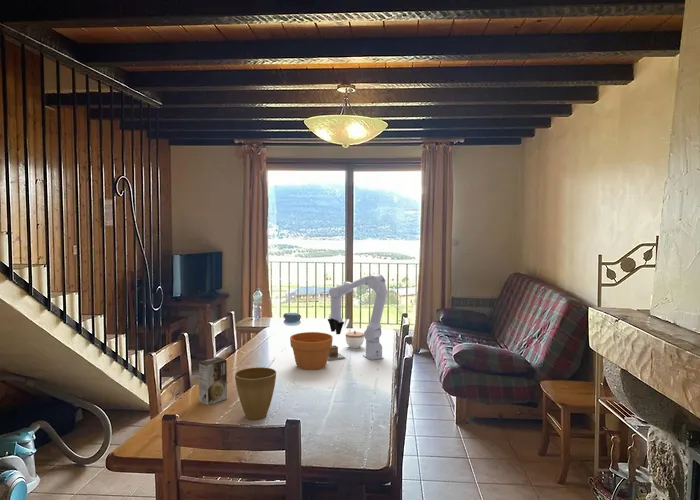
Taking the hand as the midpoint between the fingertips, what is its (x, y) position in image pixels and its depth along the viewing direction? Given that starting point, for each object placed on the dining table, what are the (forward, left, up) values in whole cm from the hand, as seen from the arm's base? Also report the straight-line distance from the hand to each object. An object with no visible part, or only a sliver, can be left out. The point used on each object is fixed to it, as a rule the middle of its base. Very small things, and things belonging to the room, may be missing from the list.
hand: (335, 332), depth 272 cm
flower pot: (-22, +22, -11) cm, 33 cm away
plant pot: (-75, +62, -11) cm, 98 cm away
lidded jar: (+5, -14, -11) cm, 18 cm away
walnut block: (-11, +6, -10) cm, 16 cm away
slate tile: (-11, +6, -10) cm, 16 cm away
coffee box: (-53, +74, -11) cm, 92 cm away
